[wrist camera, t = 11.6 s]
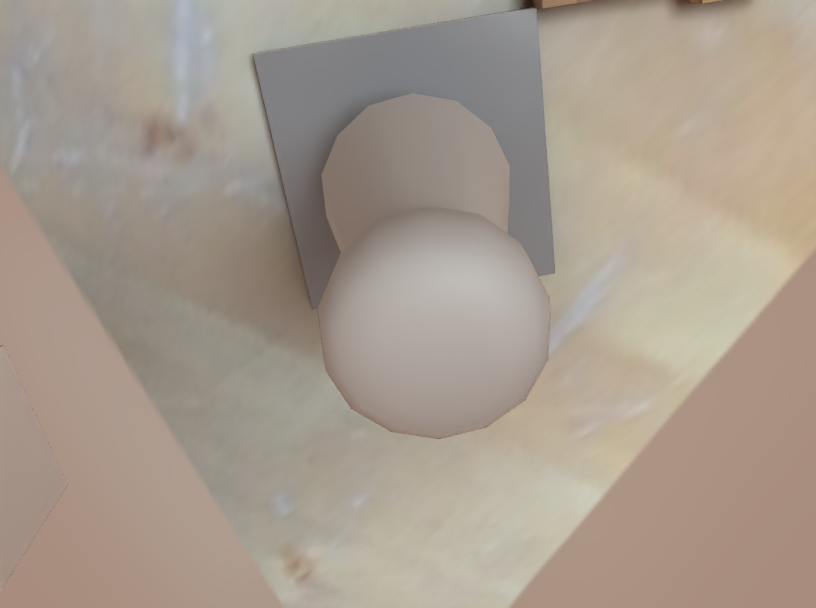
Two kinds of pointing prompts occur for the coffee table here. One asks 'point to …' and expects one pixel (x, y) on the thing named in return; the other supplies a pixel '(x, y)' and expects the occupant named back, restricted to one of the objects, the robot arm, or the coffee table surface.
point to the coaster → (397, 76)
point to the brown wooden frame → (555, 0)
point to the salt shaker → (427, 272)
